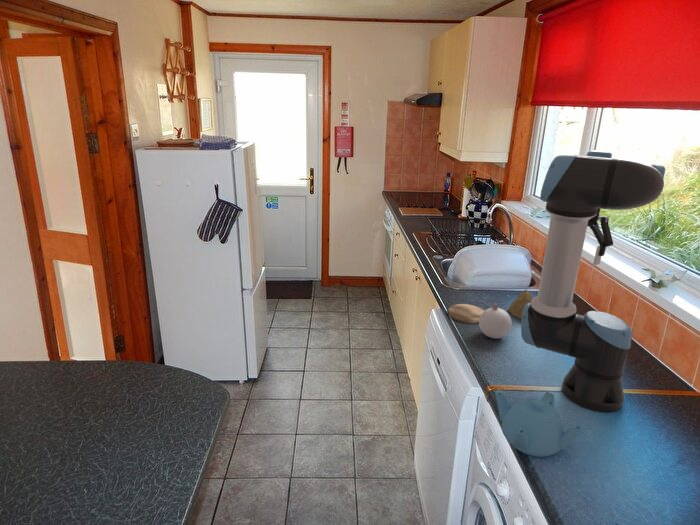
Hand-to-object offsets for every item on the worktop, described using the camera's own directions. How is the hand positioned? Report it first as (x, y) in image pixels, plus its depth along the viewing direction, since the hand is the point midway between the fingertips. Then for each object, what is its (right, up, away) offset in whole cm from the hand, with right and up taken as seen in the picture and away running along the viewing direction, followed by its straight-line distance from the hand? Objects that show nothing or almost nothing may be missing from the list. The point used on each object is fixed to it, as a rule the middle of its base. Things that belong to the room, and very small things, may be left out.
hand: (577, 258), depth 161 cm
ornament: (-30, -27, -2) cm, 41 cm away
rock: (-15, -22, +13) cm, 30 cm away
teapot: (-36, -44, -51) cm, 76 cm away
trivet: (-35, -21, +13) cm, 43 cm away
